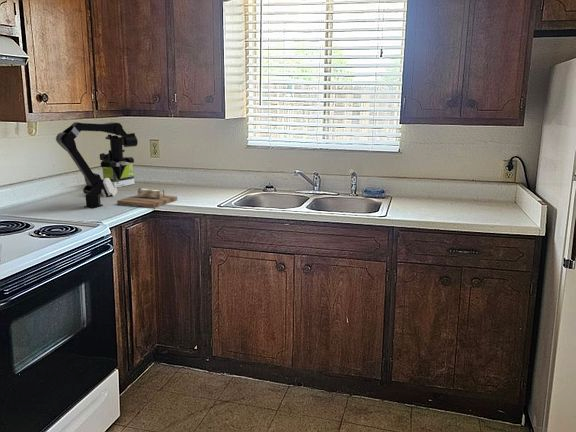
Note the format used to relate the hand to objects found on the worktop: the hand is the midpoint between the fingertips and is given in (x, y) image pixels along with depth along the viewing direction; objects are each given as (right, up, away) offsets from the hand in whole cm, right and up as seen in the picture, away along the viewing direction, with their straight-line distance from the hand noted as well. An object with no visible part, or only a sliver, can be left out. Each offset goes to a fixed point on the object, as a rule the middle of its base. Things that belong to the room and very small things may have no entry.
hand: (119, 179), depth 272 cm
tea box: (-16, -1, +51) cm, 53 cm away
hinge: (-13, -7, +25) cm, 29 cm away
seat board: (+14, -12, +2) cm, 18 cm away
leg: (+15, -9, +5) cm, 18 cm away
